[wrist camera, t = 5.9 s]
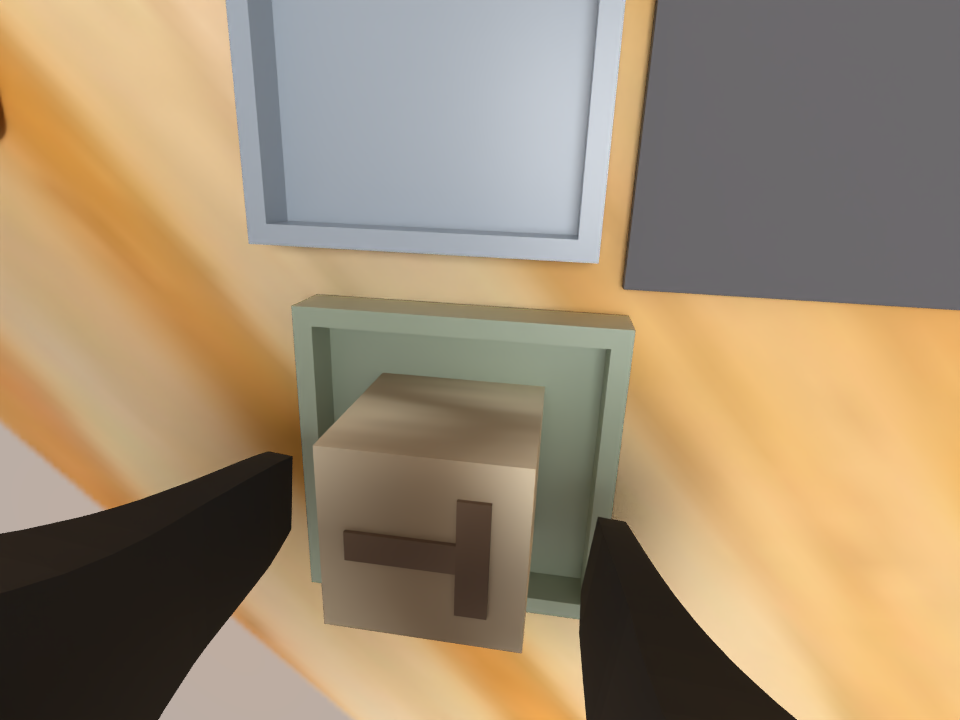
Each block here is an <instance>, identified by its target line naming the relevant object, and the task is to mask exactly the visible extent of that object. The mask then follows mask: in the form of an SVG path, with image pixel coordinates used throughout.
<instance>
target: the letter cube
mask: <svg viewBox="0 0 960 720" xmlns="http://www.w3.org/2000/svg"><path fill="white" fill-rule="evenodd" d="M544 393H545V387H543V386H532V385H520V384H509V383H497V382H486V381H474V380H462V379H451V378H439V377H428V376H416V375H405V374H393V373H382V374H381V375H380V376H379V377H378V378H377V379H376V380H375V381H374V382H373V383H372V384H371V386H370V387H369V388H368V389H367V390H366V391H365V392H364V393H363V394H362V395H361V396H360V397H359V398H358V399H357V400H356V401H355V402H354V403H353V404H352V405H351V406H350V407H349V408H348V409H347V410H346V411H345V412H344V413H343V415H342V416H341V417H340V418H339V419H338V420H337V421H336V422H335V423H334V424H333V425H332V426H331V427H330V428H329V429H328V430H327V431H326V432H325V433H324V434H323V435H322V436H321V437H320V438H319V439H318V440H317V441H316V443H315V444H314V445H313V460H314V475H315V490H316V505H317V520H318V535H319V550H320V565H321V580H322V595H323V610H324V624H330V625H337V626H344V627H350V628H357V629H364V630H370V631H377V632H384V633H390V634H397V635H403V636H410V637H417V638H423V639H430V640H437V641H443V642H450V643H456V644H463V645H470V646H476V647H483V648H490V649H496V650H503V651H510V652H516V653H522V646H523V636H524V626H525V616H526V605H527V595H528V585H529V574H530V564H531V554H532V544H533V533H534V521H535V509H536V496H537V483H538V470H539V457H540V444H541V431H542V418H543V406H544Z"/></svg>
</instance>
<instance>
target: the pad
mask: <svg viewBox="0 0 960 720" xmlns="http://www.w3.org/2000/svg"><path fill="white" fill-rule="evenodd" d="M622 287H623V289H627V290H643V291H660V292H676V293H692V294H708V295H724V296H740V297H756V298H772V299H788V300H804V301H820V302H837V303H853V304H869V305H885V306H901V307H917V308H933V309H949V310H960V0H656V5H655V13H654V22H653V30H652V39H651V47H650V55H649V64H648V72H647V81H646V89H645V98H644V106H643V115H642V123H641V132H640V140H639V149H638V157H637V166H636V174H635V183H634V191H633V200H632V208H631V217H630V225H629V234H628V242H627V251H626V259H625V268H624V276H623V285H622Z"/></svg>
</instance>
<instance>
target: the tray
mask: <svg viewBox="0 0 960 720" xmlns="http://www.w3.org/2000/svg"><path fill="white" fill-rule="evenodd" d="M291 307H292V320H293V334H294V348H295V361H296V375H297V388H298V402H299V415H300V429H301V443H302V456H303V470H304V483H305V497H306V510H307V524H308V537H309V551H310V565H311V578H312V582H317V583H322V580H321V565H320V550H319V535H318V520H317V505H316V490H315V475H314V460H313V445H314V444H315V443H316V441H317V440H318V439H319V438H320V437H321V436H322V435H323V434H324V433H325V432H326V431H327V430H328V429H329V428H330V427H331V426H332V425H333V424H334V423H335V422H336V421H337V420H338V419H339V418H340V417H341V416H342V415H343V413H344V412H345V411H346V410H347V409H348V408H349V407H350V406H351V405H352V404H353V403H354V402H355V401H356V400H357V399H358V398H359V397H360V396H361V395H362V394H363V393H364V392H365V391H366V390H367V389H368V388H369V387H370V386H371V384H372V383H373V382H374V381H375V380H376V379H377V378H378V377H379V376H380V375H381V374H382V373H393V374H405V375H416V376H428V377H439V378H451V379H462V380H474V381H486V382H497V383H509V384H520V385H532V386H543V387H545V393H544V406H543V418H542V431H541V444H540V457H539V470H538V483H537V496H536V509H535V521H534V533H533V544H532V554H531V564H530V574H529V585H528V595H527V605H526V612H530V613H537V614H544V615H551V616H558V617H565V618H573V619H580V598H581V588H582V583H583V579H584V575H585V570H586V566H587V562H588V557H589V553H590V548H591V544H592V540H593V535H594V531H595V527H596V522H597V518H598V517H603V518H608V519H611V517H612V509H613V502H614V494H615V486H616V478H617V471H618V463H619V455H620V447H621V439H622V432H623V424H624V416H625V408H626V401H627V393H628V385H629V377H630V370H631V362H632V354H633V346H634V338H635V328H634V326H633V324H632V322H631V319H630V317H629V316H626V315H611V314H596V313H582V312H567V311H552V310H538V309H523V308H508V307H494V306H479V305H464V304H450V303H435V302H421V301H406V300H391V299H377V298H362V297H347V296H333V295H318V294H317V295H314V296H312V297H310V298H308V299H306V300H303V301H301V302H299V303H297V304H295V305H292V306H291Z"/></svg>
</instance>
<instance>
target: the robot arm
mask: <svg viewBox="0 0 960 720" xmlns="http://www.w3.org/2000/svg"><path fill="white" fill-rule="evenodd" d="M292 459H293V456H289V455H284V454H279V453H274V452H265V453H262V454H259V455H256V456H253V457H250V458H248V459H245V460H243V461H240V462H238V463H235V464H233V465H230V466H228V467H225V468H223V469H220V470H218V471H215V472H213V473H210V474H208V475H205V476H203V477H200V478H198V479H195V480H193V481H190V482H188V483H185V484H182V485H180V486H177V487H174V488H171V489H169V490H166V491H163V492H160V493H158V494H155V495H152V496H149V497H147V498H144V499H141V500H138V501H135V502H132V503H128V504H125V505H122V506H119V507H115V508H112V509H108V510H105V511H101V512H98V513H94V514H91V515H87V516H83V517H79V518H74V519H70V520H65V521H61V522H56V523H52V524H48V525H43V526H38V527H34V528H29V529H24V530H19V531H14V532H7V533H2V534H0V720H158V719H159V718H160V716H161V714H162V713H163V711H164V709H165V708H166V706H167V705H168V703H169V701H170V700H171V698H172V697H173V695H174V694H175V692H176V690H177V689H178V688H179V686H180V684H181V683H182V681H183V680H184V678H185V677H186V675H187V674H188V672H189V671H190V669H191V667H192V666H193V664H194V663H195V662H196V660H197V659H198V657H199V656H200V655H201V653H202V652H203V651H204V649H205V648H206V647H207V645H208V644H209V643H210V641H211V640H212V639H213V638H214V636H215V635H216V634H217V633H218V631H219V630H220V629H221V627H222V626H223V625H224V624H225V622H226V621H227V620H228V619H229V617H230V616H231V615H232V614H233V612H234V611H235V610H236V609H237V607H238V606H239V605H240V604H241V602H242V601H243V600H244V598H245V597H246V596H247V595H248V593H249V592H250V591H251V590H252V588H253V587H254V586H255V584H256V583H257V582H258V581H259V579H260V578H261V577H262V575H263V574H264V573H265V571H266V570H267V569H268V567H269V566H270V565H271V563H272V561H273V560H274V558H275V556H276V555H277V553H278V552H279V550H280V548H281V546H282V545H283V543H284V541H285V539H286V538H287V536H288V534H289V532H290V531H291V516H292ZM579 637H580V650H581V662H582V674H583V685H584V697H585V709H586V720H797V719H795V718H794V717H793V716H792V715H791V714H789V713H788V712H787V711H786V710H785V709H784V708H782V707H781V706H780V705H779V704H778V703H776V702H775V701H774V700H773V699H772V698H771V697H770V696H769V695H767V694H766V693H765V692H764V691H763V690H762V689H761V688H760V687H759V686H758V685H757V684H755V683H754V682H753V681H752V680H751V679H750V678H749V677H748V676H747V675H746V674H745V673H744V672H743V671H742V670H741V669H739V668H738V667H737V666H736V665H735V664H734V663H733V662H732V661H731V660H730V659H729V658H728V657H727V655H726V654H725V653H724V652H723V651H722V650H721V649H720V648H719V647H718V646H717V645H716V644H715V643H714V642H713V641H712V639H711V638H710V637H709V636H708V635H707V634H706V633H705V632H704V631H703V630H702V628H701V627H700V626H699V625H698V624H697V623H696V621H695V620H694V619H693V618H692V616H691V615H690V614H689V613H688V612H687V610H686V609H685V608H684V607H683V605H682V604H681V603H680V602H679V600H678V599H677V598H676V596H675V595H674V594H673V592H672V591H671V590H670V588H669V587H668V585H667V584H666V583H665V581H664V580H663V578H662V577H661V575H660V574H659V573H658V571H657V570H656V568H655V567H654V565H653V564H652V562H651V561H650V559H649V558H648V556H647V555H646V553H645V551H644V550H643V548H642V547H641V545H640V544H639V542H638V540H637V539H636V537H635V536H634V534H633V533H632V531H631V529H630V528H629V526H628V525H627V523H626V522H623V521H618V520H613V519H608V518H603V517H598V518H597V522H596V527H595V531H594V535H593V540H592V544H591V548H590V553H589V557H588V562H587V566H586V570H585V575H584V579H583V583H582V588H581V598H580V626H579Z"/></svg>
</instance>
